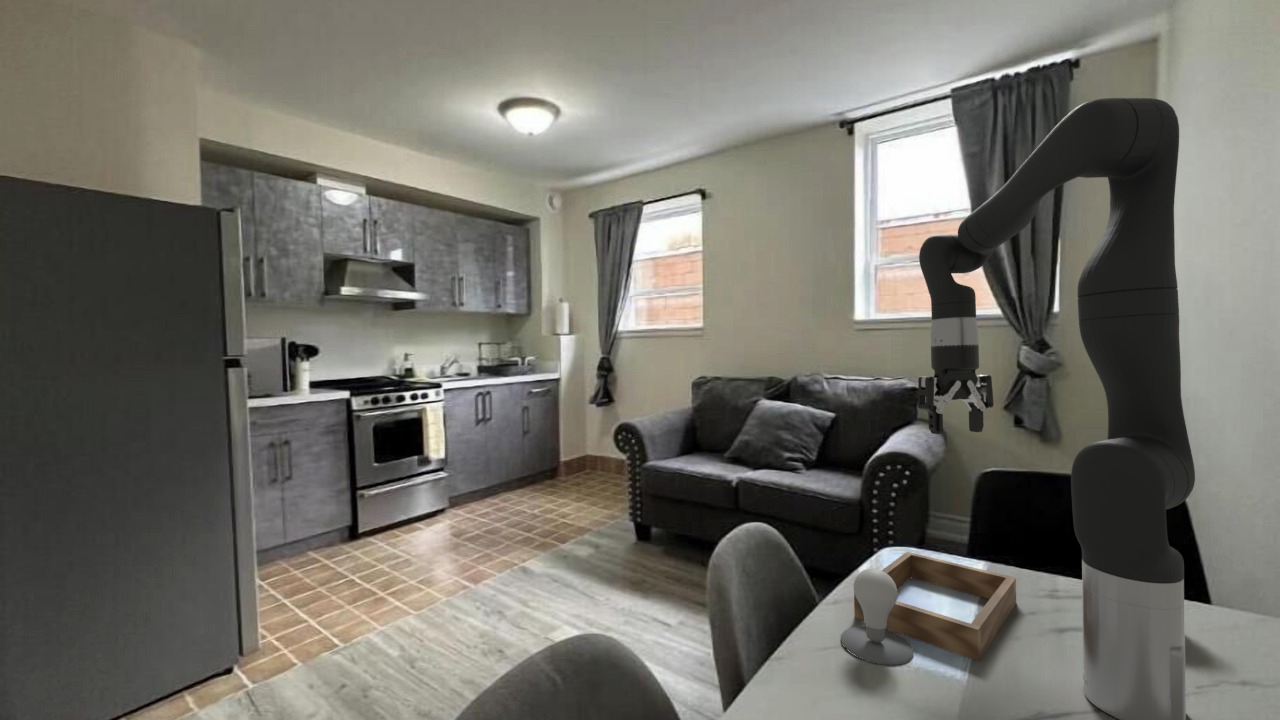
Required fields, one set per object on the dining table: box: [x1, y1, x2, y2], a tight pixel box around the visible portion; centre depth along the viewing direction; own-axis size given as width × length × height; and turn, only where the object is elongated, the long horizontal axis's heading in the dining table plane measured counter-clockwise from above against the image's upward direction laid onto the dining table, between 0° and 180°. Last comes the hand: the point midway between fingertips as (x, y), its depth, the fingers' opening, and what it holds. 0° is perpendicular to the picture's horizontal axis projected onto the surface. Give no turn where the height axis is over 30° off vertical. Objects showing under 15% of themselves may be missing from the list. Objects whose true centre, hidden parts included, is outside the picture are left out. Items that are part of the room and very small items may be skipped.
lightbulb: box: [853, 568, 899, 643], centre depth 80 cm, size 6×6×11 cm
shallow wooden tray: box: [853, 551, 1017, 662], centre depth 90 cm, size 18×24×4 cm
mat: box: [840, 625, 914, 666], centre depth 80 cm, size 10×10×1 cm
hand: (956, 432), depth 96 cm, fingers open, 8 cm apart
